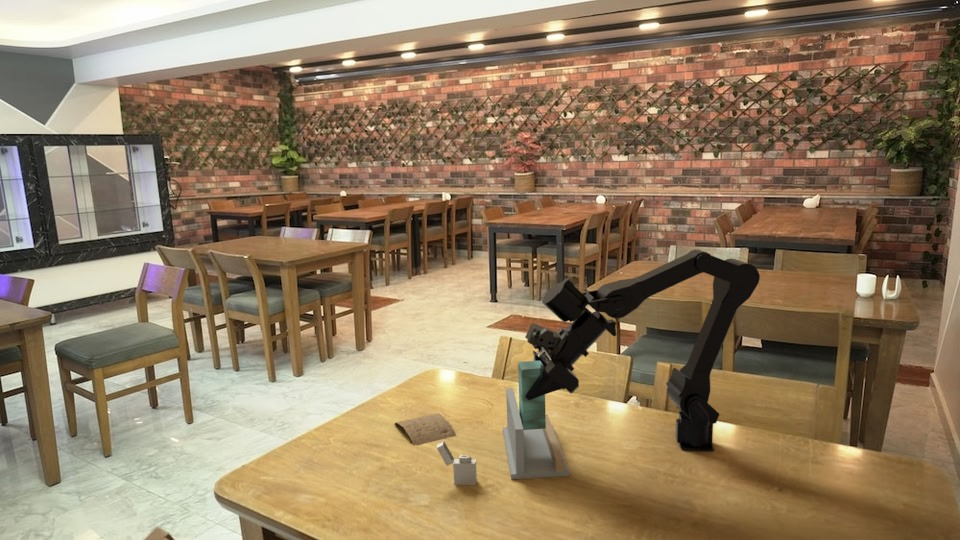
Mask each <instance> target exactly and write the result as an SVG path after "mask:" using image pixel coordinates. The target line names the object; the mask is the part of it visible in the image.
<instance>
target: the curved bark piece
mask: <svg viewBox="0 0 960 540" xmlns="http://www.w3.org/2000/svg"><path fill="white" fill-rule="evenodd" d="M396 424H397V425H399V426H400V427H402V428H403V429H404V430H405V432H406V434H407V435H408V437H409V438H410V440H411V442H412V445H413V446H421V445H424V444H429V443H433V442H437V441H441V440H446V439H449V438H453V437H454V438H455V437H456V436H457V433H456V431H455V430H454V429H453V425H452V424H451V423H450V421H448V420H447V419H446V418H445V416H443V415H442V414H441V413H439V412H438V413H433V414H429V415H424V416H420V417H416V418H411V419H407V420H399V421H397V422H396Z"/></svg>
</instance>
